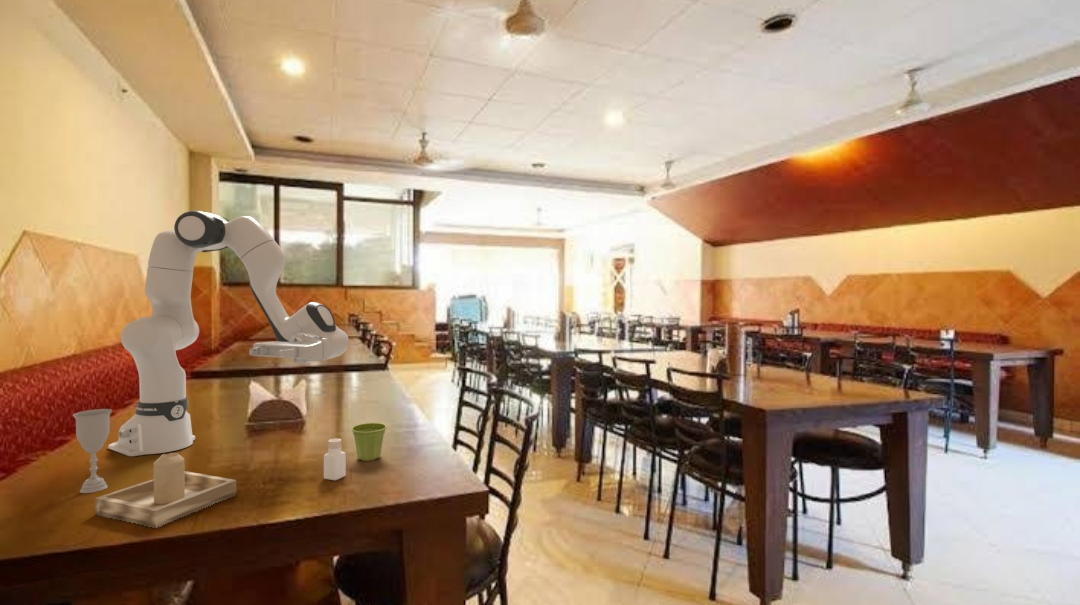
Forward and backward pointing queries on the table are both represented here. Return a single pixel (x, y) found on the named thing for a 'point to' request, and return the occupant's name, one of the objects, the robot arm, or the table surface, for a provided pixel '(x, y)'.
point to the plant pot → (369, 440)
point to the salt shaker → (334, 460)
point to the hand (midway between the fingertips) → (264, 353)
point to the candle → (169, 478)
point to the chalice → (93, 442)
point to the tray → (142, 510)
